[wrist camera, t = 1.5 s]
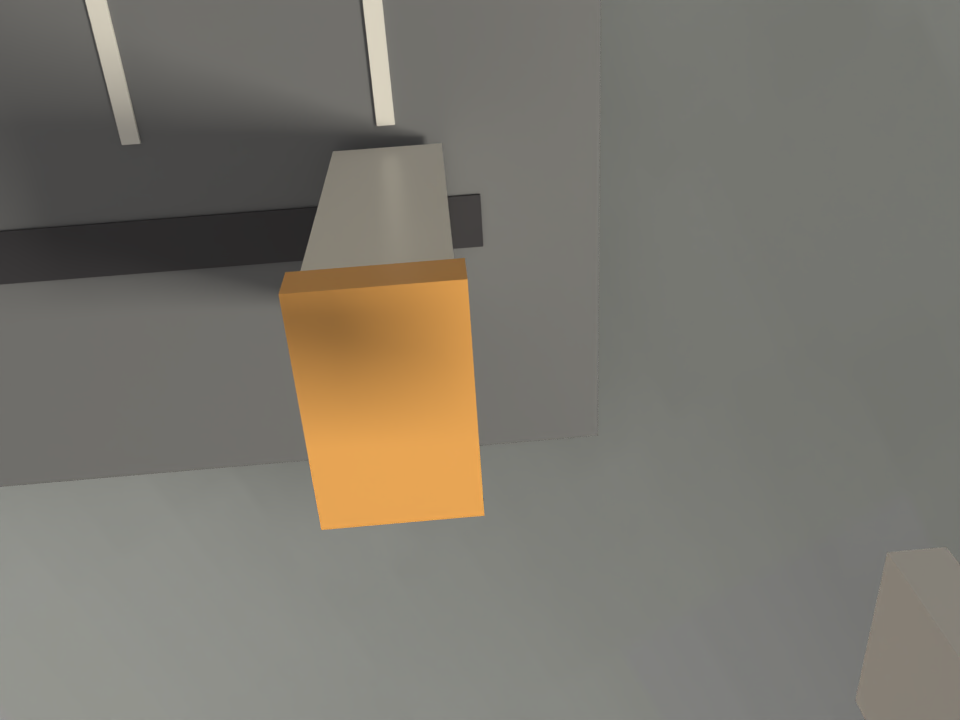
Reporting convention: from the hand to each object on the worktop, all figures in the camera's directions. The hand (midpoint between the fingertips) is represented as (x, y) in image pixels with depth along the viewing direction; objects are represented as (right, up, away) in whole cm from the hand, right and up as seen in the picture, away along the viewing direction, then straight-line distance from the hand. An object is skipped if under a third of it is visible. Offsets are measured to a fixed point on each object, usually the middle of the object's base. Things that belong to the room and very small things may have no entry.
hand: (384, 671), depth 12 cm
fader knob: (-1, +8, +14) cm, 16 cm away
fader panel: (-8, +8, +16) cm, 20 cm away
